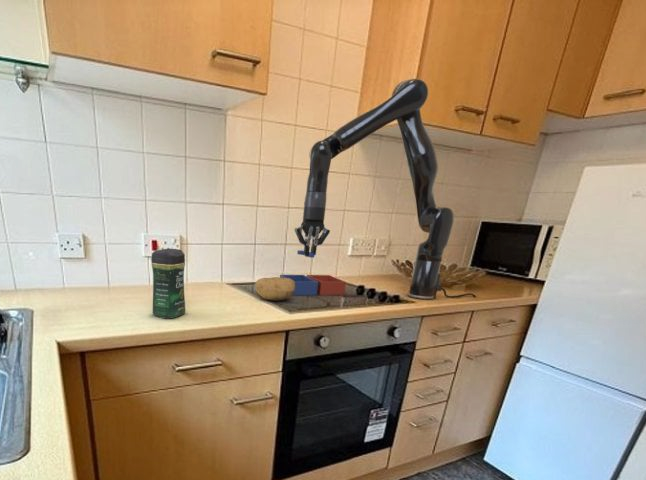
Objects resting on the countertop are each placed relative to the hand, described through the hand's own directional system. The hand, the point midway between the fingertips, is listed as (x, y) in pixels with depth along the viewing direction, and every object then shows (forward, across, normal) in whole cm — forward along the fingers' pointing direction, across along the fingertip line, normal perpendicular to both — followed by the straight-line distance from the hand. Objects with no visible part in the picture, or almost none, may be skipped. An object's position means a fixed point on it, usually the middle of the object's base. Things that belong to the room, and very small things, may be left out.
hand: (309, 256), depth 149 cm
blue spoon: (0, 0, +3) cm, 3 cm away
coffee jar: (+14, -53, -27) cm, 61 cm away
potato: (+14, -16, -10) cm, 23 cm away
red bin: (+14, +10, +6) cm, 18 cm away
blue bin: (+14, -1, +6) cm, 15 cm away
